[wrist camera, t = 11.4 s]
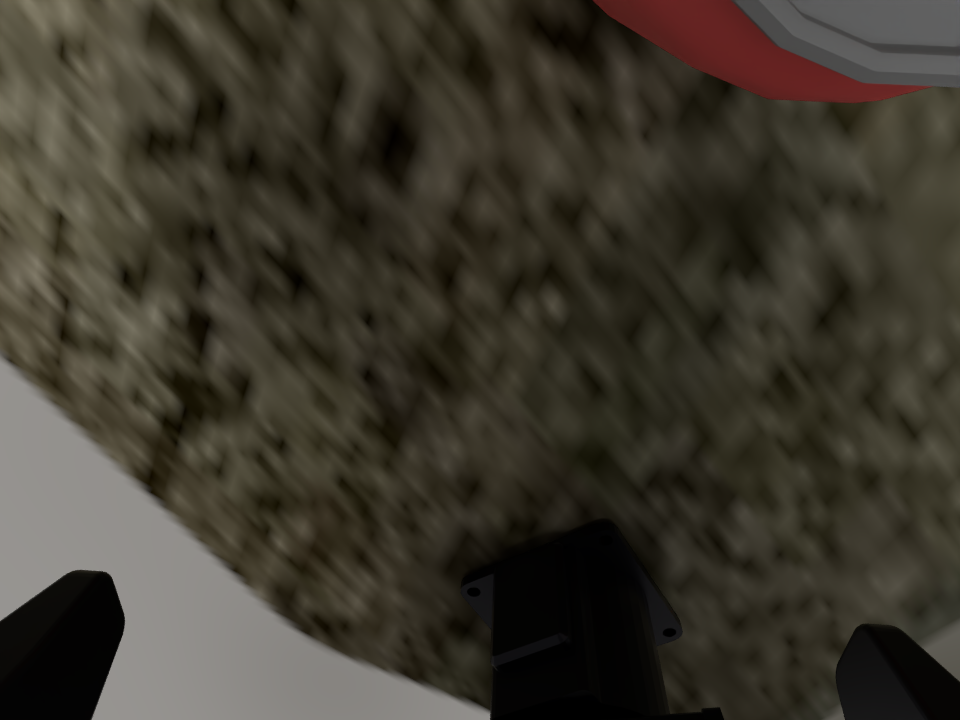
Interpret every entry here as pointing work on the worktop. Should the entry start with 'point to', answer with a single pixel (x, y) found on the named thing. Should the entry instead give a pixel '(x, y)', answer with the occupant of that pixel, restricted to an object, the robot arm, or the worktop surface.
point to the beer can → (807, 43)
